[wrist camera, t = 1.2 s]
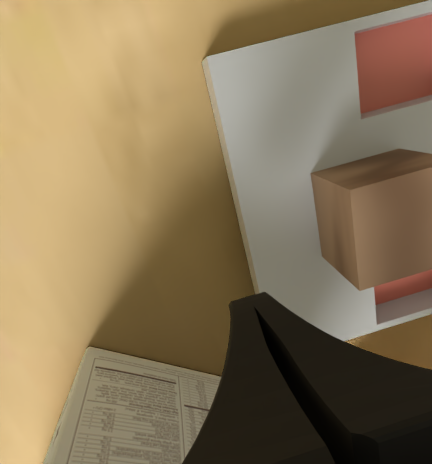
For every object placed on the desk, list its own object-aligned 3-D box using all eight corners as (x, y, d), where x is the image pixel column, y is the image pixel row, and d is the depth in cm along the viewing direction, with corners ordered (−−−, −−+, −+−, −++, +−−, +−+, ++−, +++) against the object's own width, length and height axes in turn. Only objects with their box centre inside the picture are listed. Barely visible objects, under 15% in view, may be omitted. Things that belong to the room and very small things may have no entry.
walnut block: (399, 148, 18) (460, 158, 14) (402, 232, 20) (457, 261, 16) (310, 172, 18) (349, 190, 14) (321, 256, 20) (359, 291, 16)
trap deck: (561, -30, 18) (697, -76, 14) (527, 262, 25) (612, 298, 20) (201, 61, 17) (217, 44, 12) (266, 342, 24) (292, 399, 19)
